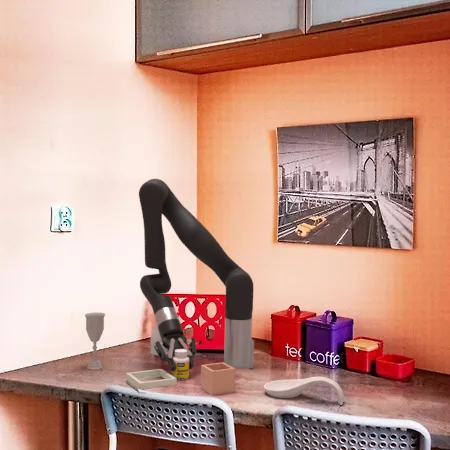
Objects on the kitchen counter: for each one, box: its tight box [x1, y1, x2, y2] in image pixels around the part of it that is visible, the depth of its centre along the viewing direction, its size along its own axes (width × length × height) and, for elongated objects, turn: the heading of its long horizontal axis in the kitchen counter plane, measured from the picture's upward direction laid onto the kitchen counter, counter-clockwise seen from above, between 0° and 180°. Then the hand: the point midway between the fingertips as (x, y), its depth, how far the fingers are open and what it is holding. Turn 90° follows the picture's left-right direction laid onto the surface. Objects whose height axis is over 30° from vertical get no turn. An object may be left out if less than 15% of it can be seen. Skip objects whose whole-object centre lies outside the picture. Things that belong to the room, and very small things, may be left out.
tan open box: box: [200, 361, 236, 396], centre depth 203 cm, size 8×8×8 cm
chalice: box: [84, 312, 106, 370], centre depth 228 cm, size 7×7×18 cm
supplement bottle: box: [171, 348, 190, 381], centre depth 215 cm, size 5×5×10 cm
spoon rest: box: [263, 376, 345, 406], centre depth 199 cm, size 24×12×7 cm, turn 73°
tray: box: [125, 368, 178, 390], centre depth 210 cm, size 12×12×3 cm
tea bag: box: [149, 325, 167, 357], centre depth 247 cm, size 4×7×10 cm, turn 62°
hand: (183, 369), depth 213 cm, fingers closed on supplement bottle, 5 cm apart
